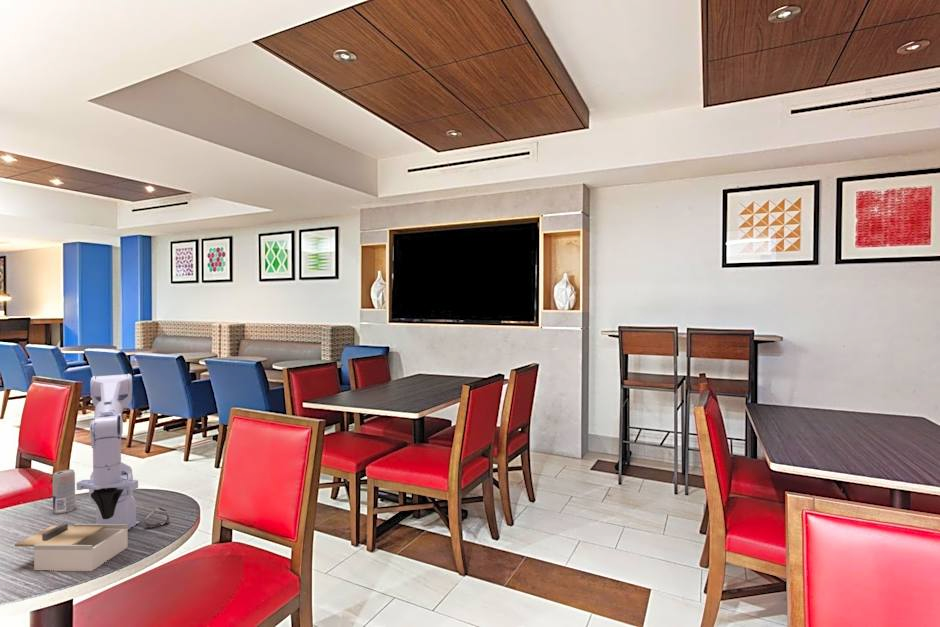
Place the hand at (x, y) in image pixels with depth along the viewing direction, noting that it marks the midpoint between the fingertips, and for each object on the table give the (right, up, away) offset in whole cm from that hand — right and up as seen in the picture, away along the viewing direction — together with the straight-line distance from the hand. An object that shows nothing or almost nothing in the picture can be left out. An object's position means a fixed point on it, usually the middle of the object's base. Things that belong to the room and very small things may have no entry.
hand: (108, 517), depth 127 cm
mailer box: (-5, -10, -2) cm, 11 cm away
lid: (-11, -4, -2) cm, 11 cm away
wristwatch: (+2, -10, +17) cm, 20 cm away
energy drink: (-34, -10, +28) cm, 45 cm away
